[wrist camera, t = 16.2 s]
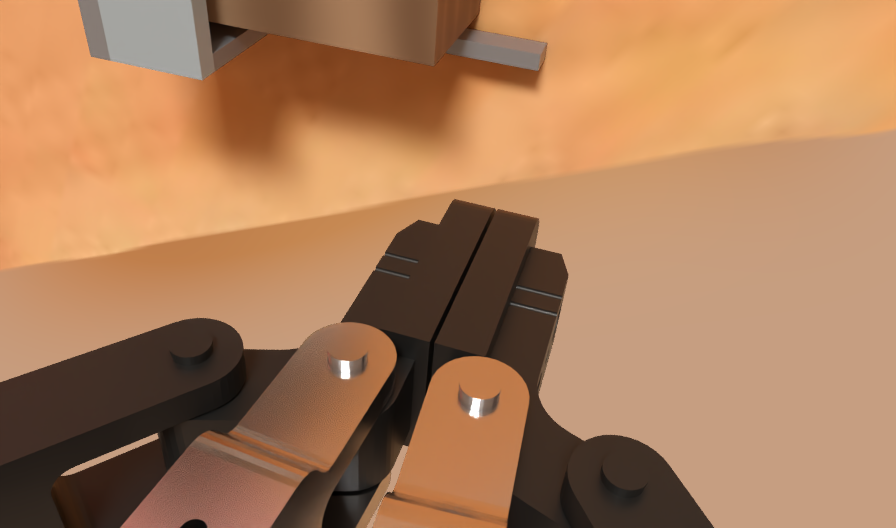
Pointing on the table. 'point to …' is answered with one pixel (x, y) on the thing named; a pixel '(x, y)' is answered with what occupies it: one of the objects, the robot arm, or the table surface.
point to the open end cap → (499, 49)
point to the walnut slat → (357, 23)
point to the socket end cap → (162, 35)
